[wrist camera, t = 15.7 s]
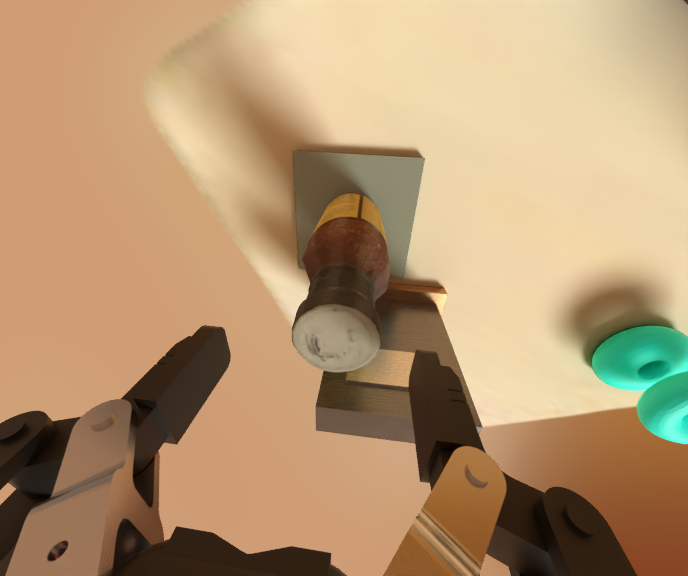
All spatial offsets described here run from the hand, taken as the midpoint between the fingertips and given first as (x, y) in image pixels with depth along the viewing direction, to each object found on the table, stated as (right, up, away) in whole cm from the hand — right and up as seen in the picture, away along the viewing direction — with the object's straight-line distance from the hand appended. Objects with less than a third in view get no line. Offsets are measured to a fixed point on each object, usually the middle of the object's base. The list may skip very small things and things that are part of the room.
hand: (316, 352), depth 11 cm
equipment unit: (+7, +1, +24) cm, 25 cm away
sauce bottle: (+2, +10, +18) cm, 21 cm away
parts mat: (+2, +11, +18) cm, 22 cm away
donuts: (+39, -6, +24) cm, 46 cm away
